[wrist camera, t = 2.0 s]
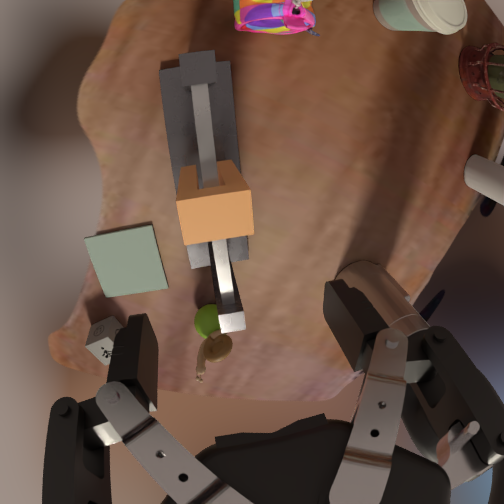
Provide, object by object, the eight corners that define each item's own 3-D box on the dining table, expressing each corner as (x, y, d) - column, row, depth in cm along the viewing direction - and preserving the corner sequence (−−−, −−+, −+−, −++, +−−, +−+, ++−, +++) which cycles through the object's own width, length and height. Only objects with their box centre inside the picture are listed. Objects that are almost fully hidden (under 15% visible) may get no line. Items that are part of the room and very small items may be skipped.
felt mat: (152, 224, 37) (151, 225, 37) (168, 286, 42) (168, 288, 42) (84, 237, 36) (83, 238, 36) (106, 296, 41) (106, 297, 41)
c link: (231, 159, 31) (250, 189, 21) (234, 191, 33) (254, 234, 23) (180, 167, 30) (175, 201, 21) (186, 198, 32) (184, 245, 22)
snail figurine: (181, 312, 45) (183, 373, 35) (213, 290, 44) (222, 350, 34) (204, 331, 48) (211, 389, 38) (235, 311, 47) (248, 369, 37)
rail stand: (228, 61, 29) (254, 36, 16) (247, 255, 42) (274, 329, 29) (159, 71, 28) (137, 51, 15) (191, 264, 41) (195, 343, 28)
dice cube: (109, 343, 46) (105, 365, 42) (91, 325, 43) (85, 346, 39) (131, 335, 46) (127, 357, 41) (112, 314, 43) (107, 336, 39)
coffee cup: (416, 10, 27) (473, 2, 17) (404, 49, 31) (464, 48, 20) (372, -22, 24) (426, -43, 14) (357, 18, 28) (413, 1, 18)
